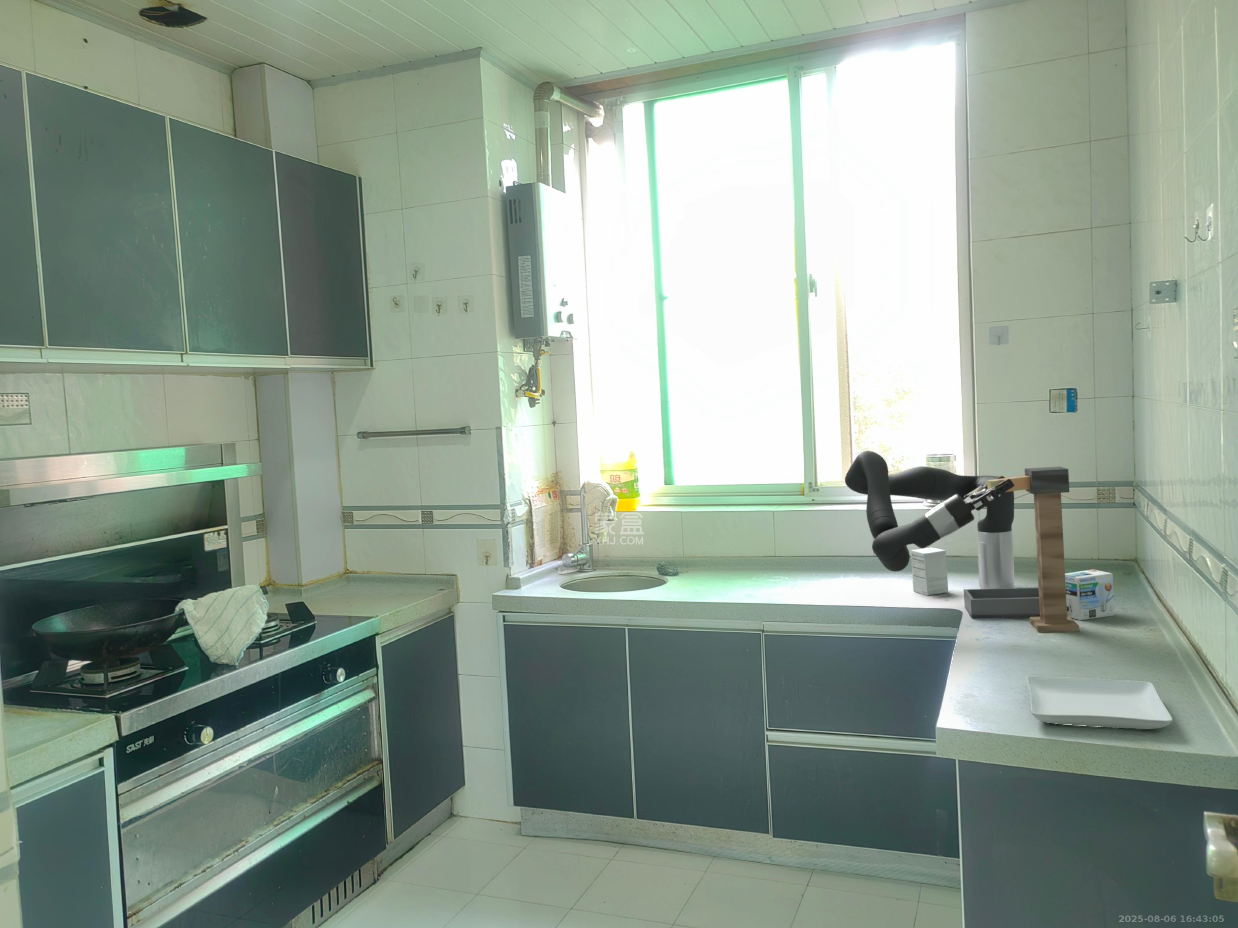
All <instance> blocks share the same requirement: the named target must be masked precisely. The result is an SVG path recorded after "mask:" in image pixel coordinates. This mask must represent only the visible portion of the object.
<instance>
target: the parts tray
mask: <svg viewBox="0 0 1238 928" xmlns="http://www.w3.org/2000/svg"><path fill="white" fill-rule="evenodd" d="M963 603H964V609H965V610H966V612H967V613H968V616H969V617H970V619H971V620H978V619H979V620H982V619H984V620H985V619H988V620H989V619H1024V618H1025V619H1028V618H1029V619H1030V617H1040V606H1039V587H1038V586H1037V587H1015V588H995V589H981V588H967V589H965V588H963Z"/></svg>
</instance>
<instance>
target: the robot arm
mask: <svg viewBox="0 0 1238 928" xmlns="http://www.w3.org/2000/svg"><path fill="white" fill-rule="evenodd" d="M1003 478H1006V477H1005V476H1003V475H999V476H998V475H960V474H956V473H953V472H951V471H949V470H946V469H944V468H942V469H941V468H937V467H931V466H924V465H923V466H916V467H911V468H907V469H905V470H903V471H899V472H896V473H892V474H889V468H888V464H887V462H886V460H885V458H884V457H883V456H882V455H881V454H879V453H877V452H875V451H872V450H863V451H861V452H860V453H859V454H857V456H856V457H855V459H854V460H853V462H852V464H851V465H850V467H849V469H848V470H847V472H846V474H845V476H844V483H845V485H846V486H847V487H848V488H849V490H851V491H853V492H856V493H858V494H861V495H866V496H867V497H866V507H865V508H866V511H865V512H866V520H867V524H868V527H869V530H870V531H869V532H870V533H871V536H872V537H873V539H874V540H873V541H872V543H871V549H872V551H873V554H875V556H876V558H877V559H878V560H879V561H880V563H881V564H882V565H883V566H884V568H885V569H887V570H888V571H891V572H901V571H903V570H904V569H906V567H907V566H908V565H909V562H910V561H911V553H910V551H909V548H908V546H909V545H915V546H916V547H918V548H920V549H924V548H929V546H931V545H933V544H934V543H936V542H937V541H940V540H941V539H943V538H945V537H947V536H949V535H951V534H953V533H954V532H956V531H958V530H960V529H962V528H963V527H965V526H966V525H968V524H970V523H971V522H973V521H974V520H975V515H974V514H973V512H972V511H974V510H976V511H978V512H979V511H981V510H982V509H984V508H986V516H984V518H983V519H979V520H978V522H977V539H978V556H977V567H978V581H979V582H978V584H979V585H978V586H979V588H980V589H995V588H1016V586H1015V585H1016V584H1015V582H1016V581H1015V567H1014V565H1015V564H1014V549H1013V548H1014V547H1013V546H1014V545H1013V531H1012V528H1013V527H1012V526H1013V522H1014V519H1015V491H1010V492H1006V491H1007V490H1009V489H1011V488H1012V487H1014V484H1013V482H1012V481H1011V480H1010V479H1006V480H1005V481H1003V482H1002V483H1000V484H998V485H997V486H995V487H996V488H995V487H992V488H991V489H988V487H987V480H994V479H1003ZM891 496H895V497H896V496H898V497H907V498H917V499H921V500H930V501H941V503H939V504H938V505H936V506H934V507H932V508H931V509H930V510H928V511H927V512H926V513H925V514H923V515H922V516H920V517H919V518H917V519H915V520H913V521H911V522H909V523H906V524H903V525H900V526H899V524H898V521H897V517H896V515H895V512H894V508H893V504H892V499H891V498H892V497H891Z"/></svg>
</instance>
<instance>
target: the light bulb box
mask: <svg viewBox="0 0 1238 928" xmlns="http://www.w3.org/2000/svg"><path fill="white" fill-rule="evenodd" d="M1065 584H1066V604H1067V616H1069V617H1070V618H1072V619H1073V620H1074V619H1075V620H1079V621H1086V620H1093V619H1097V618H1106V617H1112V616H1115V600H1114V599H1115V597H1114V596H1115V595H1114V594H1115V593H1114V573H1111V572H1106V571H1103V570H1097V569H1088V570H1087V569H1086V570H1080V571H1079V570H1078V571H1074V572H1068V573H1066V572H1065Z"/></svg>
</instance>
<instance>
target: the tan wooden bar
mask: <svg viewBox="0 0 1238 928" xmlns="http://www.w3.org/2000/svg"><path fill="white" fill-rule="evenodd" d="M1006 479H1010V480H1011V481H1012V482H1013V484H1014V487H1012V488H1011V489H1009V490H1007V491H1006V492H1010V491H1014V492H1017V491H1024V490H1025V491H1026V490H1027V489H1030V475H1027V476H1025V475H1022V476H1021V475H1019V476H1012V477H1005V478H1003V479H994V480H987V487H988V489H991V488H992V487H995V486H997V485H998V484H1000V483H1002V482H1003V481H1005V480H1006ZM995 488H996V487H995Z"/></svg>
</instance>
